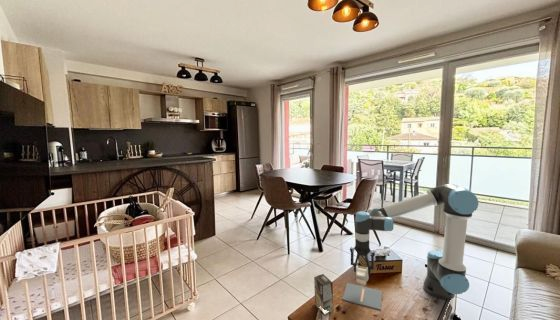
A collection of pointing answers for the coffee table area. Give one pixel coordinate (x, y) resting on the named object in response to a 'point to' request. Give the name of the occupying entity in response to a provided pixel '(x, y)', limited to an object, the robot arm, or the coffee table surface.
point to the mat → (363, 296)
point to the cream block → (361, 275)
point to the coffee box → (323, 292)
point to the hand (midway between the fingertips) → (362, 278)
